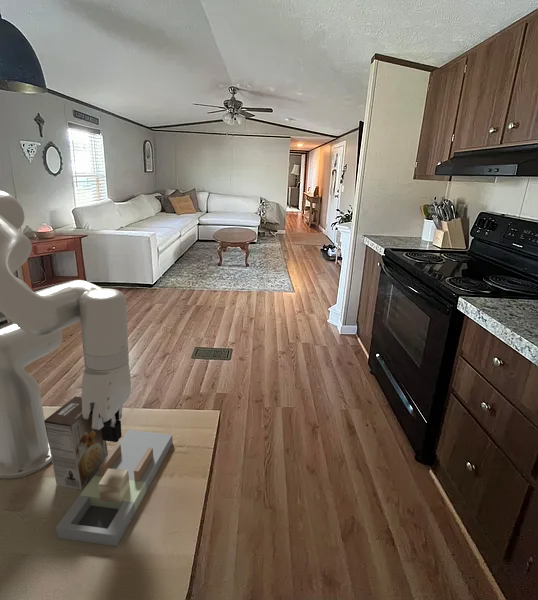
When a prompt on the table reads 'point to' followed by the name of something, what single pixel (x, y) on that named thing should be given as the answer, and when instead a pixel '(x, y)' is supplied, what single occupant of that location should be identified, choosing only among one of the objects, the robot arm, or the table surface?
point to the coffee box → (74, 445)
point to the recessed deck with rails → (117, 515)
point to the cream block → (114, 485)
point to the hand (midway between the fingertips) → (112, 438)
